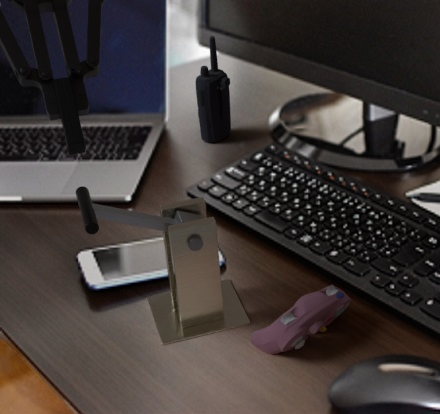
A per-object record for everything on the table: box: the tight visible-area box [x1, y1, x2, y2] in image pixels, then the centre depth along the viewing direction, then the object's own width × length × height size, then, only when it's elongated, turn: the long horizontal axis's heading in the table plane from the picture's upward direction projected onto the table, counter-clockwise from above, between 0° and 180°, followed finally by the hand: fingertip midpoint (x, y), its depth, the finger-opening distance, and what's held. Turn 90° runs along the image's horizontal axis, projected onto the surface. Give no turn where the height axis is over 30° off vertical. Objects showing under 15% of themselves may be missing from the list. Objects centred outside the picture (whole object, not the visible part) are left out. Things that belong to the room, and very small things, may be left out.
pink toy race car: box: [250, 284, 352, 355], centre depth 82 cm, size 10×5×7 cm, turn 136°
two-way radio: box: [195, 35, 232, 144], centre depth 119 cm, size 6×4×15 cm
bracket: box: [146, 196, 251, 346], centre depth 83 cm, size 9×8×13 cm
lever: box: [75, 185, 204, 235], centre depth 79 cm, size 12×7×2 cm, turn 111°
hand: (76, 148), depth 77 cm, fingers closed
